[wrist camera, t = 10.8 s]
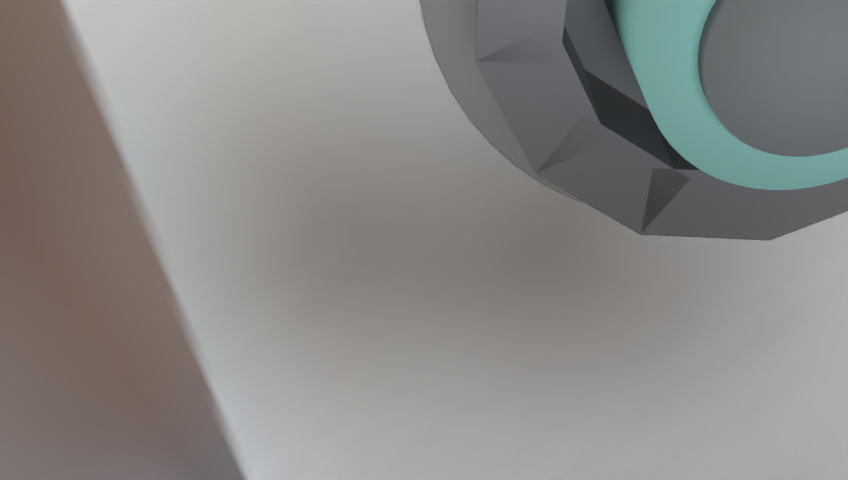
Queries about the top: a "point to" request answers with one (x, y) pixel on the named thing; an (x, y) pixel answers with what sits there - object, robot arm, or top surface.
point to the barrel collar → (595, 121)
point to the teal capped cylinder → (745, 84)
